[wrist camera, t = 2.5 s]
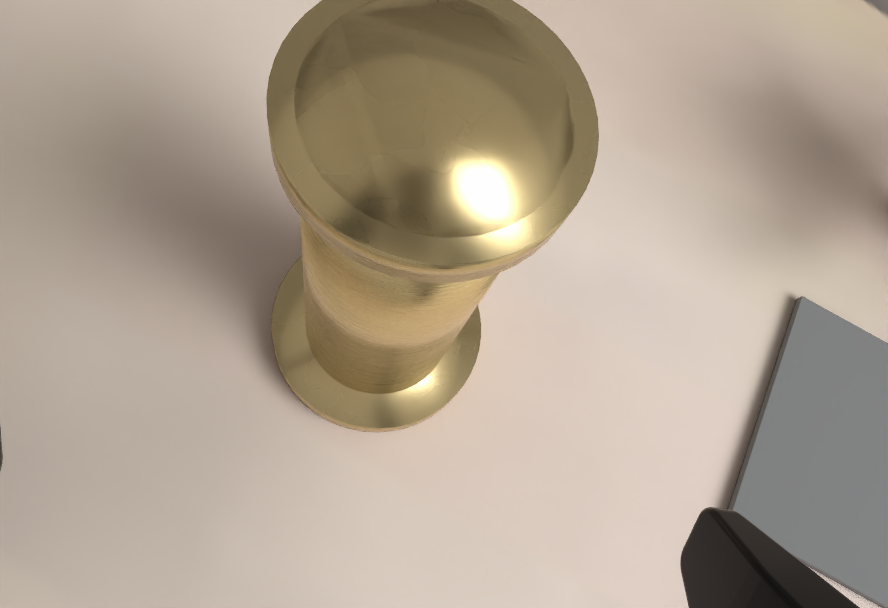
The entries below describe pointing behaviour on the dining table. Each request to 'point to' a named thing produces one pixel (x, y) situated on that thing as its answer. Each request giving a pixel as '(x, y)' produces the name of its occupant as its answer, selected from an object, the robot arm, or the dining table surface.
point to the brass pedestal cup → (414, 190)
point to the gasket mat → (824, 452)
